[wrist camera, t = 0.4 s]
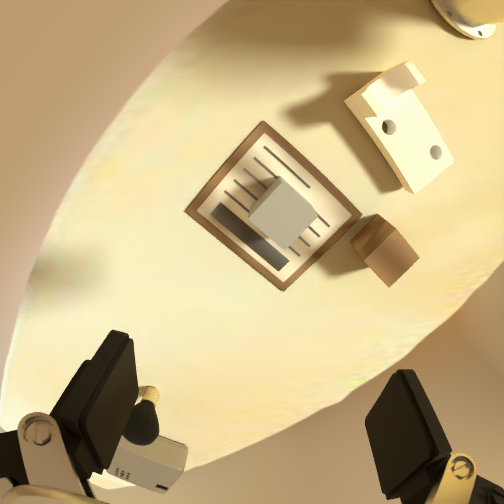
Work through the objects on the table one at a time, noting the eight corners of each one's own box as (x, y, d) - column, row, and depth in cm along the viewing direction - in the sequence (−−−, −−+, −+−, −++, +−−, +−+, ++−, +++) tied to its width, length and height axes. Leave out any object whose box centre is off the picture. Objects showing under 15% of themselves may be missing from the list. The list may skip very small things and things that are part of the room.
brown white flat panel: (263, 120, 31) (263, 120, 31) (361, 214, 35) (363, 215, 34) (186, 210, 36) (185, 211, 35) (283, 290, 39) (283, 292, 39)
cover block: (279, 175, 33) (281, 182, 28) (311, 204, 34) (318, 216, 30) (250, 207, 35) (247, 219, 30) (282, 234, 36) (284, 250, 31)
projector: (113, 451, 61) (105, 472, 54) (121, 417, 54) (109, 443, 46) (170, 473, 63) (164, 495, 56) (191, 444, 56) (185, 472, 48)
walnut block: (377, 213, 35) (396, 228, 29) (399, 239, 36) (419, 257, 30) (349, 241, 36) (363, 261, 31) (373, 265, 37) (388, 287, 32)
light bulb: (159, 406, 50) (142, 455, 39) (130, 387, 49) (108, 435, 37) (177, 393, 48) (161, 446, 37) (146, 372, 46) (124, 424, 35)
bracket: (341, 101, 30) (361, 93, 23) (383, 71, 28) (410, 59, 21) (402, 188, 34) (431, 202, 26) (439, 157, 32) (473, 165, 25)
